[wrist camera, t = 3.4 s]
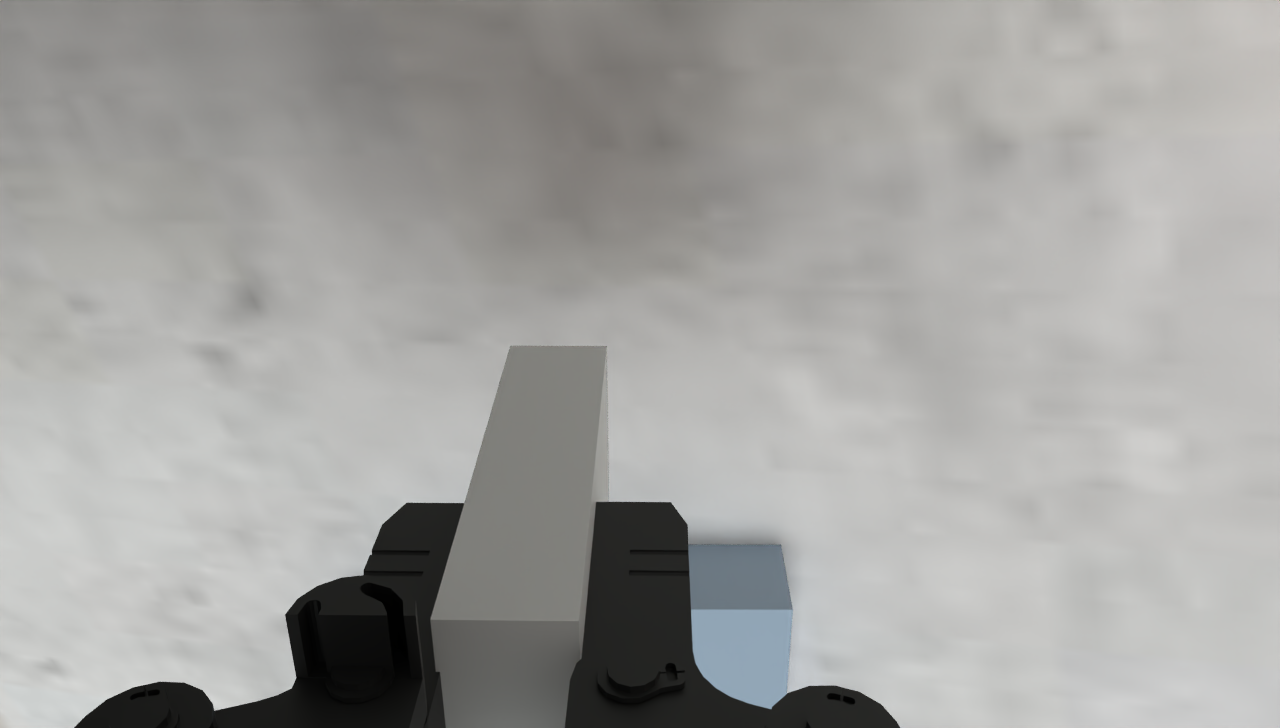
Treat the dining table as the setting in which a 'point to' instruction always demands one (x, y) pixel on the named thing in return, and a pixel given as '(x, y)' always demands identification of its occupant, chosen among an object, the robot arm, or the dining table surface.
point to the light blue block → (741, 620)
